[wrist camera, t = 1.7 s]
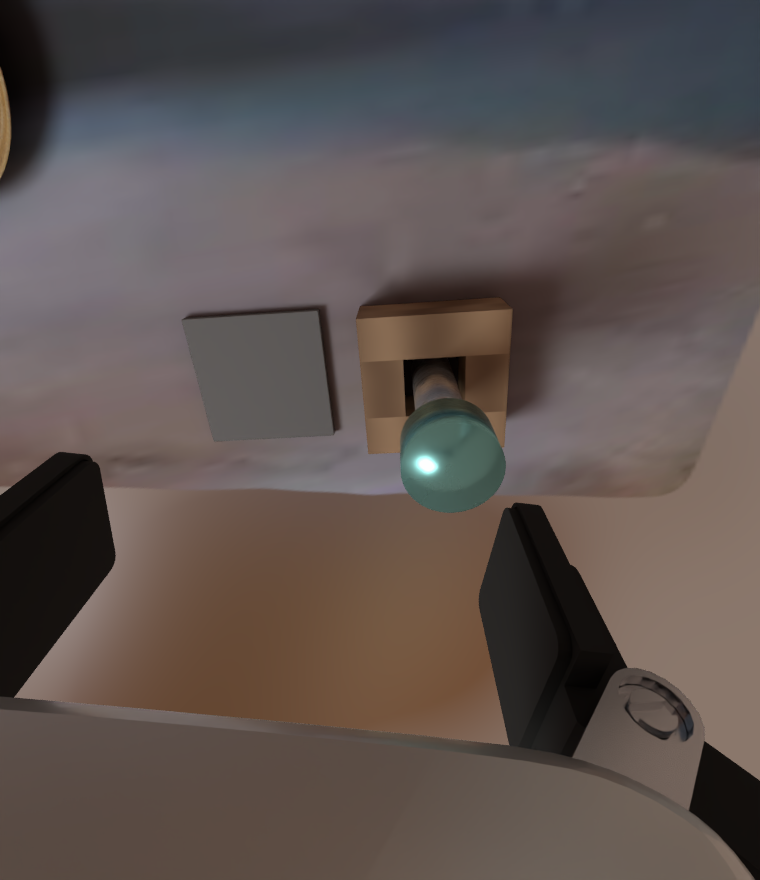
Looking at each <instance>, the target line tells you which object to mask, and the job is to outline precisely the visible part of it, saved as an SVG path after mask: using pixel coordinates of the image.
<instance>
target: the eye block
mask: <svg viewBox="0 0 760 880" xmlns="http://www.w3.org/2000/svg"><path fill="white" fill-rule="evenodd" d="M512 312H513V309H512V308H511V307H510V306H509V305H508V304H507V303H506V302H504V301H503V300H502V299H501V298H500V297H495V298H480V299H465V300H449V301H434V302H419V303H404V304H389V305H374V306H360V308H359V311H358V314H357V318H356V325H357V335H358V346H359V357H360V368H361V379H362V389H363V400H364V411H365V422H366V432H367V443H368V454H378V453H399V452H400V436H401V431H402V428H403V426H404V424H405V422H406V420H407V419H408V417H409V416H410V415H411V414H412V413H413V412H414V411H415V403H414V395H405V392H404V371H403V360H408V359H425V358H442V357H458V388H459V391H460V394H461V397H462V400H465V401H468V402H470V403H472V404H474V405H476V406H477V407H478V408H480V409H481V410H482V411H483V412H484V413H485V414H486V416H487V417H488V419H489V421H490V422H491V425H492V427H493V429H494V432H495V434H496V436H497V439H498V441H499V443H500V445H501V448H502V447H504V442H505V426H506V409H507V393H508V377H509V360H510V344H511V328H512Z"/></svg>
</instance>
